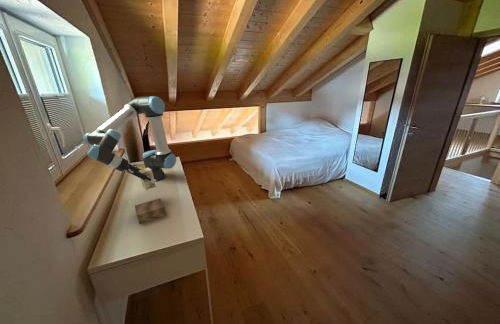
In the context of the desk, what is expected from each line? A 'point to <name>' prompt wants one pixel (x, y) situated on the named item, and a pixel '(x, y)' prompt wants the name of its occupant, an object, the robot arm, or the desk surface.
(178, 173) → the desk surface
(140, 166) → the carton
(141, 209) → the walnut box
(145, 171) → the oak block
